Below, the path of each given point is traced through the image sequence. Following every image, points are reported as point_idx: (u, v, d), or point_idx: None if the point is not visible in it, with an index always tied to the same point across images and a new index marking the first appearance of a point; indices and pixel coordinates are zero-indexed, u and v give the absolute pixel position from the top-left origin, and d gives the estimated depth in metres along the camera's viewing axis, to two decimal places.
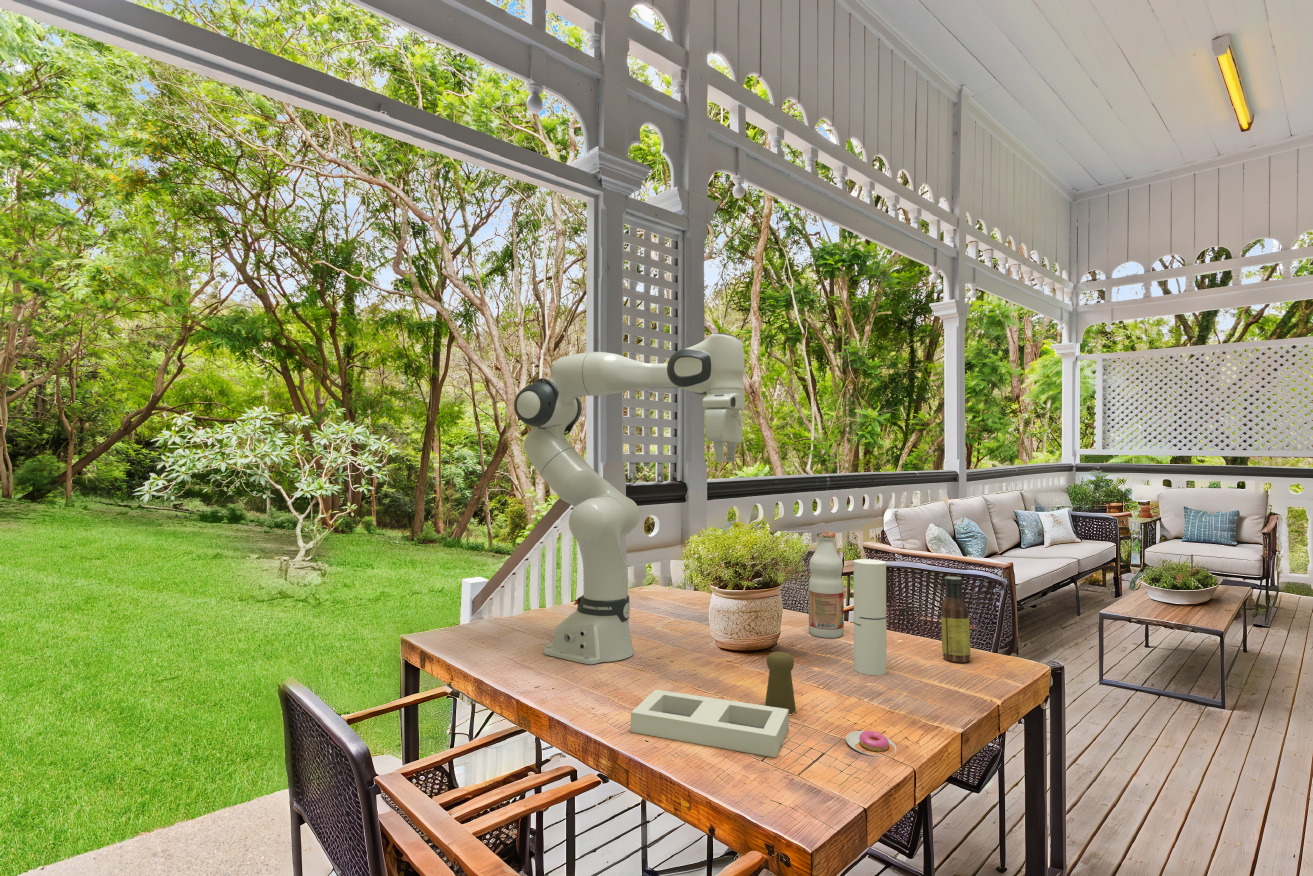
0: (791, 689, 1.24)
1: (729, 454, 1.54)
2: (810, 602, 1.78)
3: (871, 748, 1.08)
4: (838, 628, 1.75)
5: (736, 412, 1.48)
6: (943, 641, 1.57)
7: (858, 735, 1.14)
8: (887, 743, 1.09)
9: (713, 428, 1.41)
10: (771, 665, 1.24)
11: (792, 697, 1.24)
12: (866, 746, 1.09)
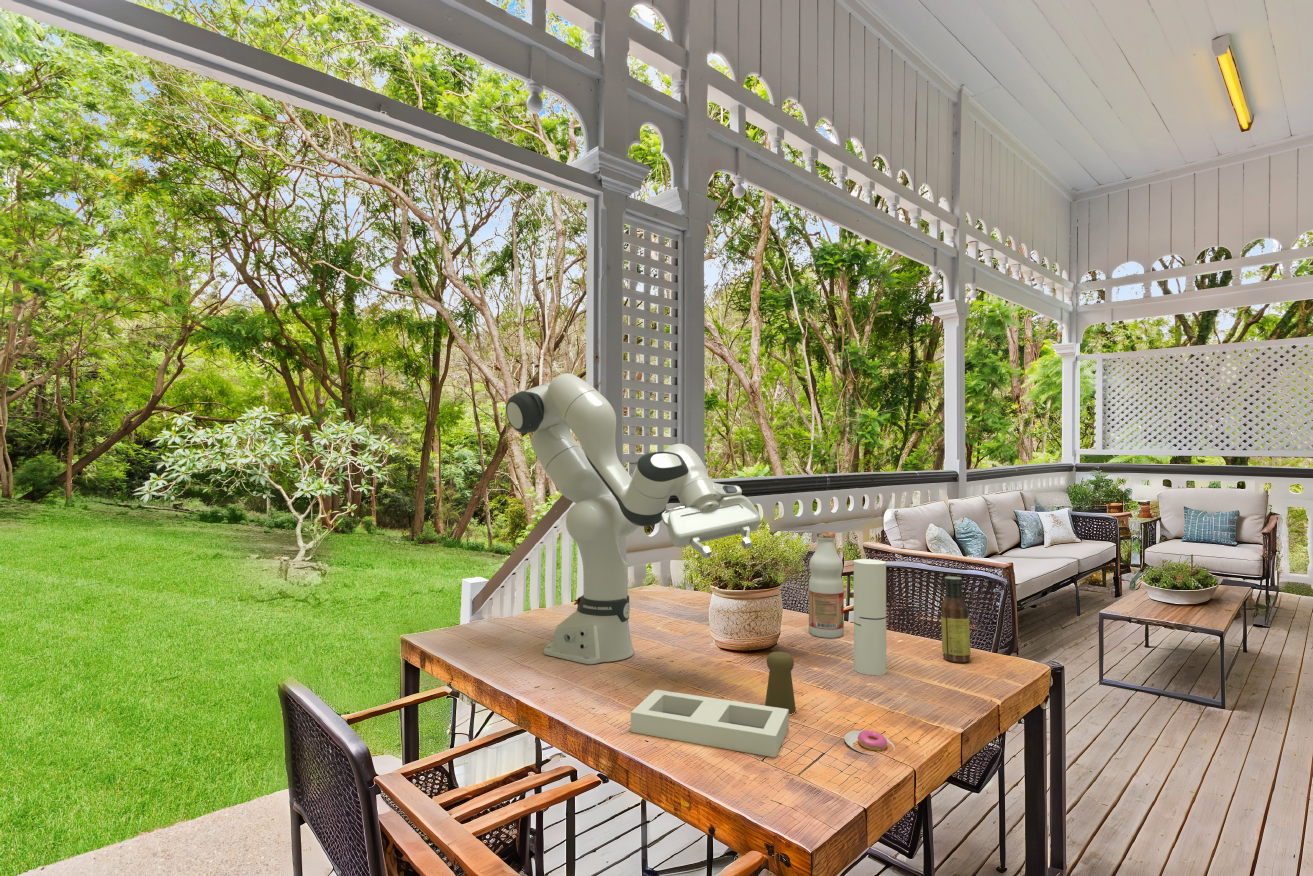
0: (791, 689, 1.24)
1: None
2: (810, 602, 1.78)
3: (869, 747, 1.09)
4: (838, 628, 1.75)
5: None
6: (943, 641, 1.57)
7: (856, 735, 1.14)
8: (885, 742, 1.09)
9: None
10: (771, 665, 1.24)
11: (792, 697, 1.24)
12: (864, 745, 1.09)
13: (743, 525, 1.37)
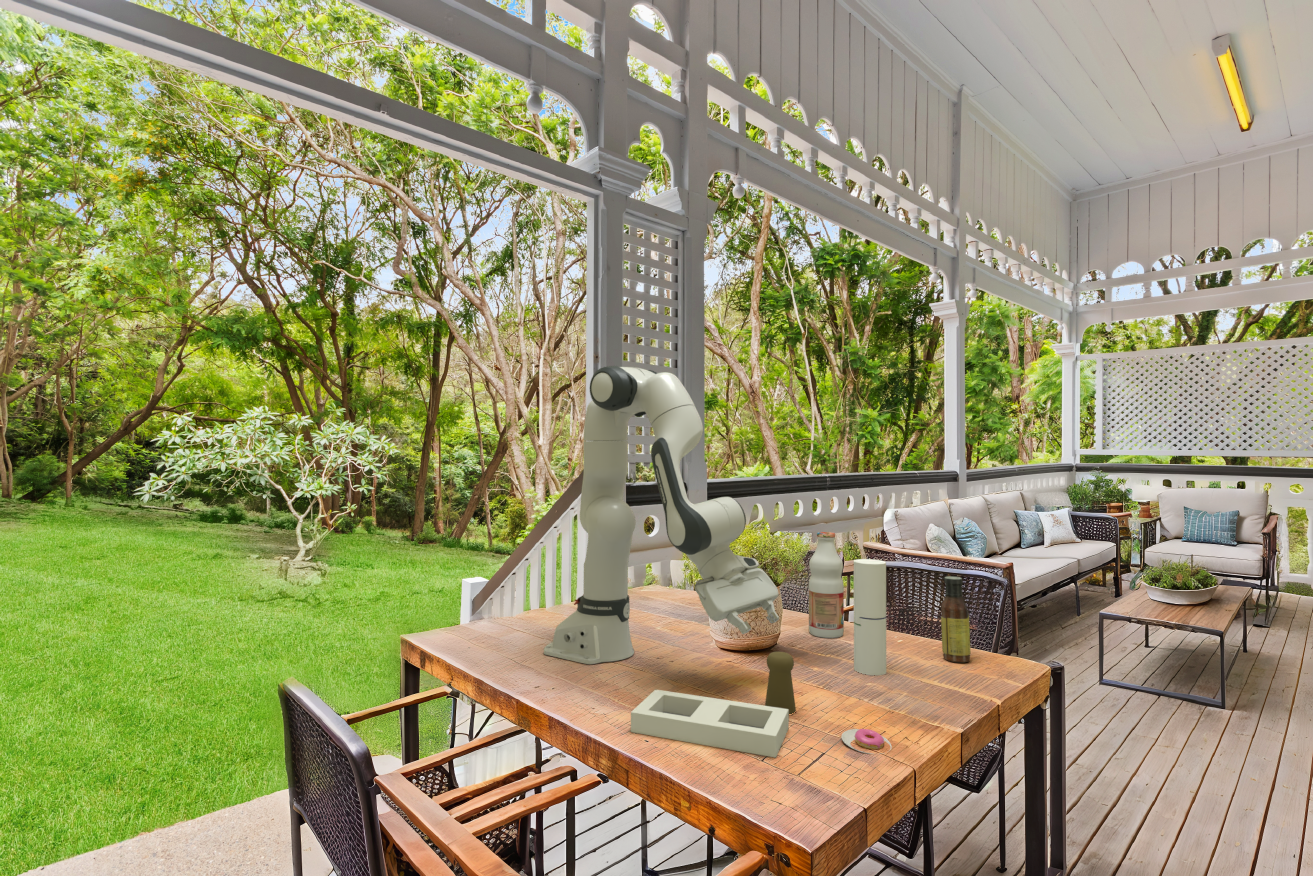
0: (791, 689, 1.24)
1: None
2: (810, 602, 1.78)
3: (866, 746, 1.09)
4: (838, 628, 1.75)
5: None
6: (943, 641, 1.57)
7: (853, 733, 1.14)
8: (882, 741, 1.10)
9: None
10: (771, 665, 1.24)
11: (792, 697, 1.24)
12: (861, 744, 1.10)
13: (767, 599, 1.39)
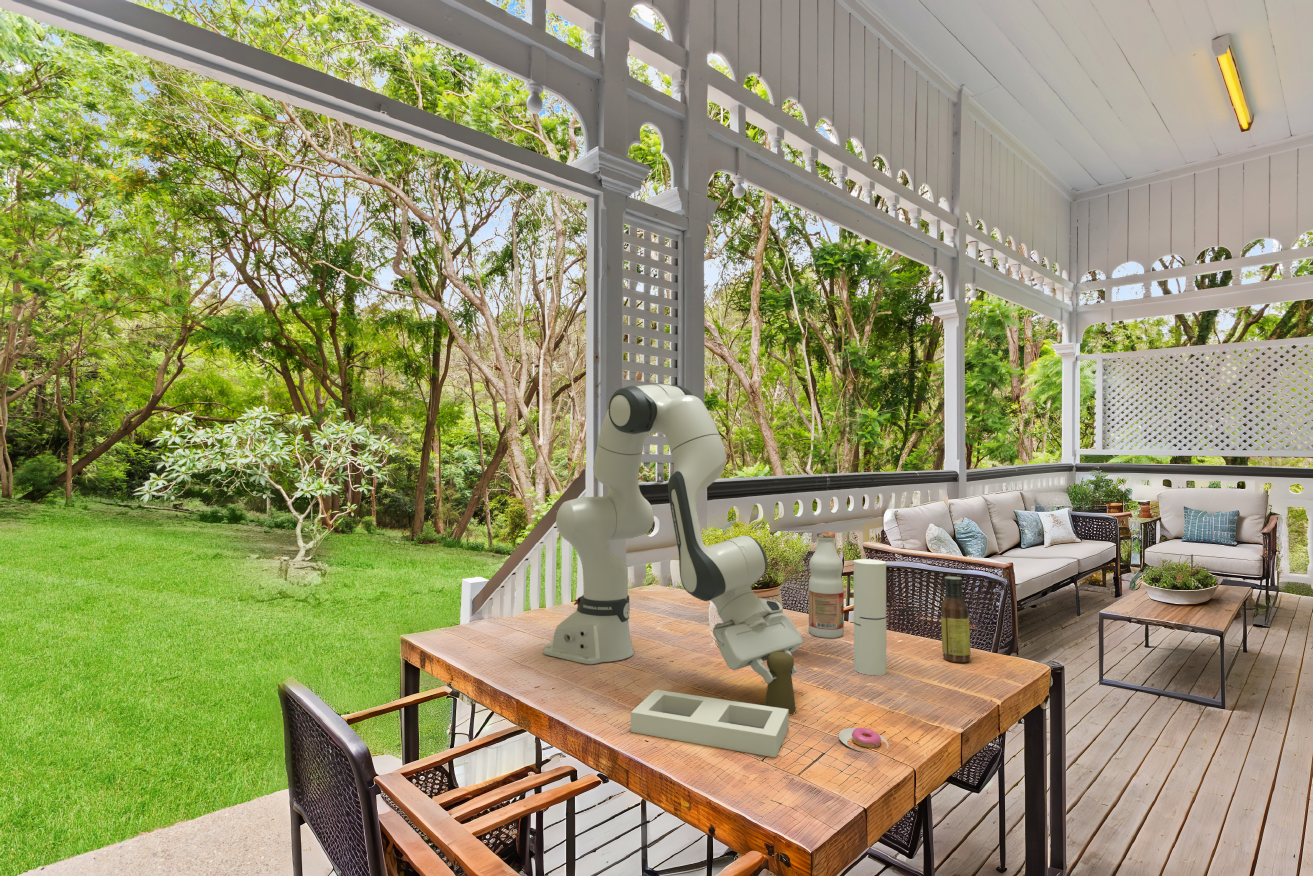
0: (791, 689, 1.24)
1: None
2: (810, 602, 1.78)
3: (863, 745, 1.10)
4: (838, 628, 1.75)
5: None
6: (943, 641, 1.57)
7: (851, 732, 1.15)
8: (879, 740, 1.10)
9: None
10: (771, 665, 1.24)
11: (792, 697, 1.24)
12: (859, 743, 1.10)
13: (790, 647, 1.31)
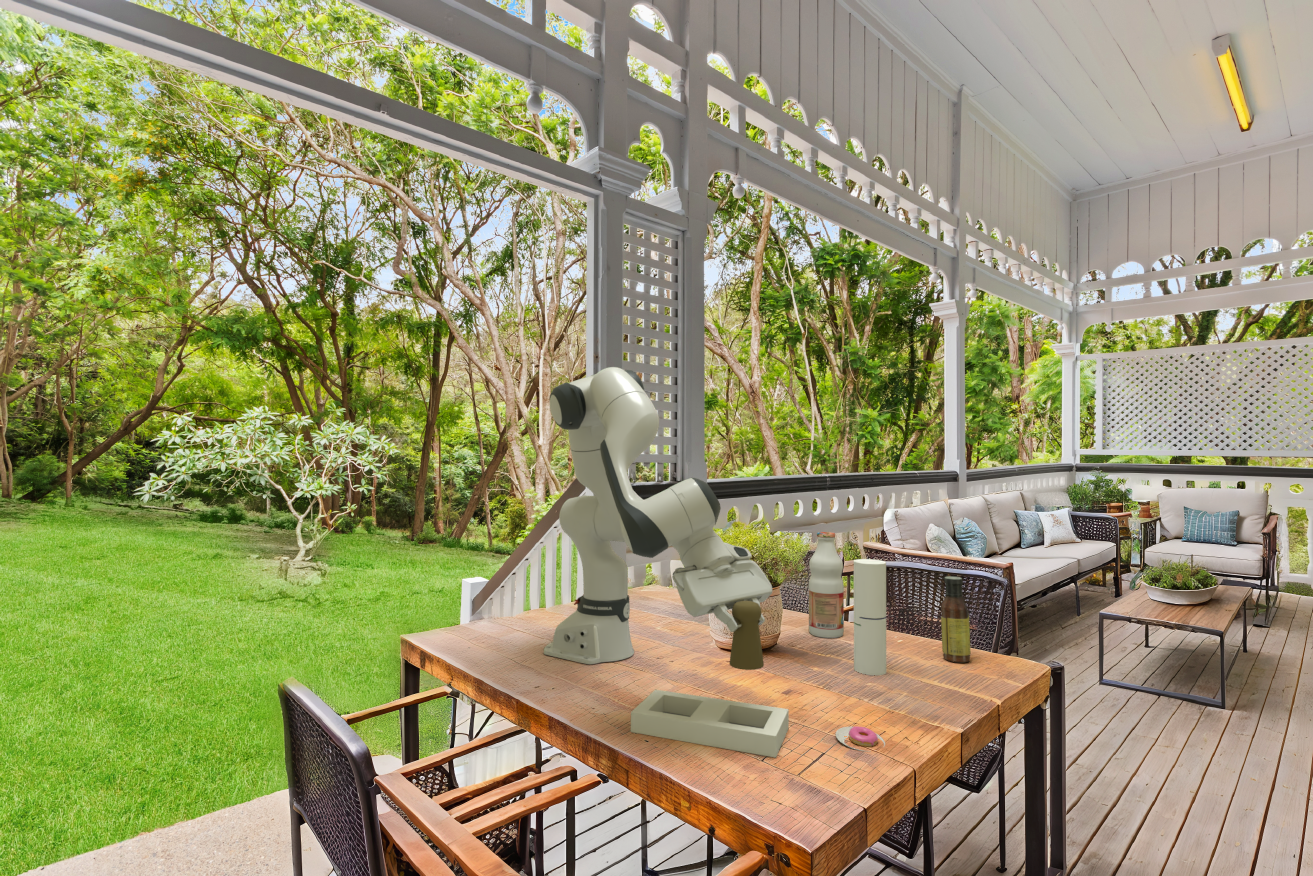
0: (758, 640, 1.13)
1: None
2: (810, 602, 1.78)
3: (860, 743, 1.10)
4: (838, 628, 1.75)
5: None
6: (943, 641, 1.57)
7: (847, 731, 1.15)
8: (876, 738, 1.11)
9: None
10: (736, 614, 1.13)
11: (759, 649, 1.13)
12: (855, 741, 1.11)
13: (758, 596, 1.19)
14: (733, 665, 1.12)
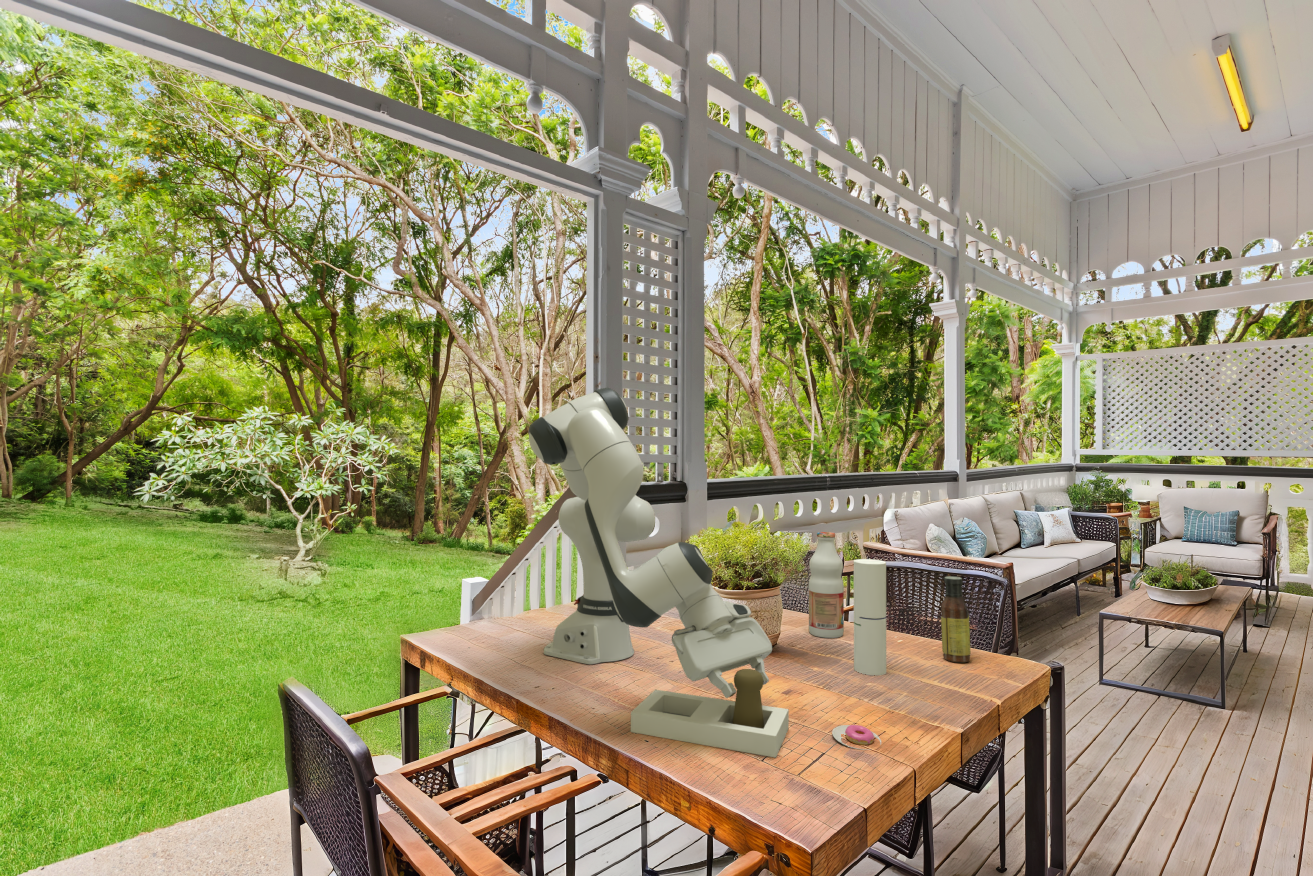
0: (760, 711, 1.13)
1: None
2: (810, 602, 1.78)
3: (857, 742, 1.11)
4: (838, 628, 1.75)
5: None
6: (943, 641, 1.57)
7: (844, 729, 1.16)
8: (872, 737, 1.12)
9: None
10: (738, 684, 1.13)
11: (761, 719, 1.13)
12: (852, 740, 1.11)
13: (758, 656, 1.19)
14: None
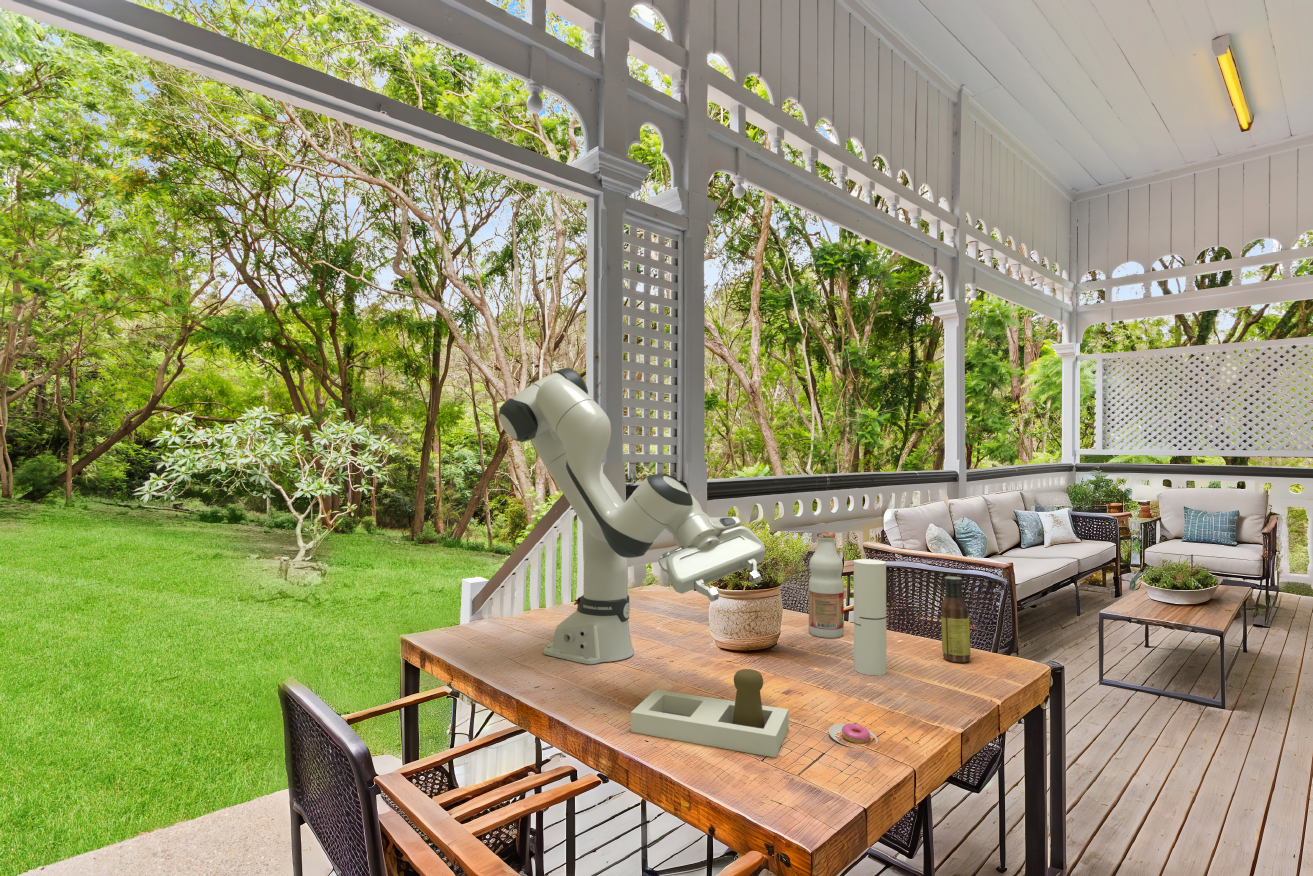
0: (760, 711, 1.13)
1: None
2: (810, 602, 1.78)
3: (853, 740, 1.11)
4: (838, 628, 1.75)
5: None
6: (943, 641, 1.57)
7: (840, 728, 1.17)
8: (868, 735, 1.12)
9: None
10: (738, 684, 1.13)
11: (761, 719, 1.13)
12: (848, 738, 1.12)
13: (748, 558, 1.26)
14: None
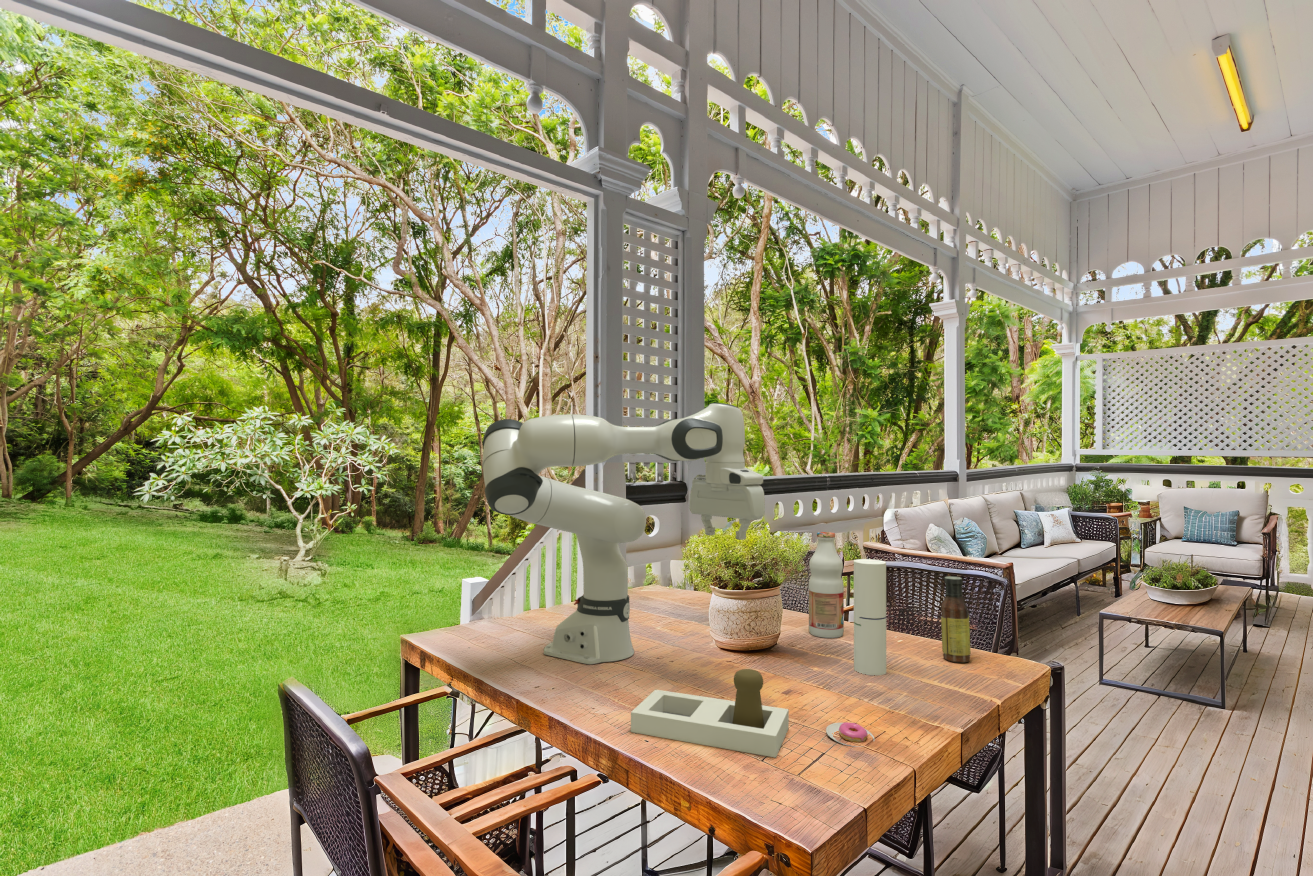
0: (760, 711, 1.13)
1: (710, 527, 1.48)
2: (810, 602, 1.78)
3: (850, 739, 1.12)
4: (838, 628, 1.75)
5: None
6: (943, 641, 1.57)
7: (838, 727, 1.17)
8: (865, 734, 1.13)
9: (759, 507, 1.37)
10: (738, 684, 1.13)
11: (761, 719, 1.13)
12: (845, 737, 1.12)
13: (739, 518, 1.40)
14: None
